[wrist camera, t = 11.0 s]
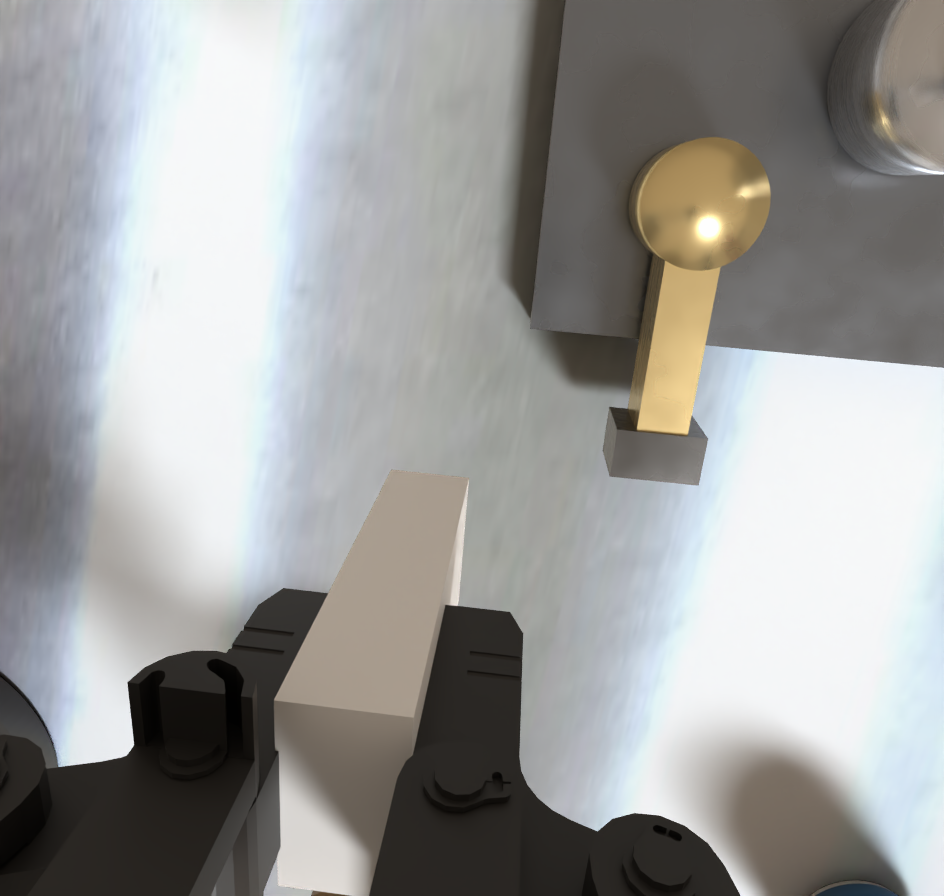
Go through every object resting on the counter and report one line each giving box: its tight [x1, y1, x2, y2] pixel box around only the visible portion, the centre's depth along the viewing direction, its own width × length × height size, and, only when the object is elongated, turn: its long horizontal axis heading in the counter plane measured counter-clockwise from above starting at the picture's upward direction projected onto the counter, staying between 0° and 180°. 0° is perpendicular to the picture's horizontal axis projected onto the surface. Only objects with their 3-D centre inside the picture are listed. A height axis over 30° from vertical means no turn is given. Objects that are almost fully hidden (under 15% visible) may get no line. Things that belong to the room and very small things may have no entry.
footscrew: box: [603, 137, 771, 485], centre depth 25 cm, size 12×4×3 cm, turn 175°
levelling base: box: [530, 0, 944, 368], centre depth 23 cm, size 24×14×8 cm, turn 85°
